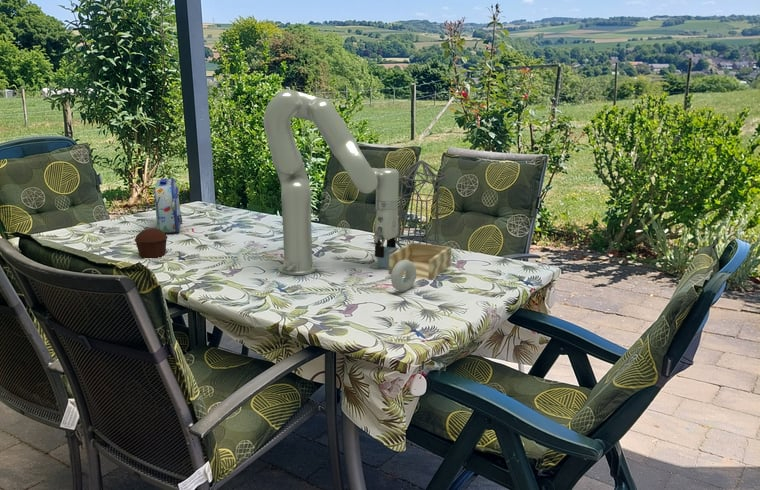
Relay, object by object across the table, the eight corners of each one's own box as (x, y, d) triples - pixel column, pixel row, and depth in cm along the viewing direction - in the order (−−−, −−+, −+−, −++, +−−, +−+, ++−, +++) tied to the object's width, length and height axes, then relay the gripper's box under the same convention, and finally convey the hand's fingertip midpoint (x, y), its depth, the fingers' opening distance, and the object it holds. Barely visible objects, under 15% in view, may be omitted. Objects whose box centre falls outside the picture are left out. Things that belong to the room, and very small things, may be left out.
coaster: (393, 272, 226) (393, 270, 226) (369, 269, 229) (369, 267, 229) (404, 265, 234) (404, 263, 233) (380, 262, 237) (380, 260, 237)
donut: (410, 286, 212) (410, 255, 209) (418, 288, 209) (419, 257, 207) (388, 293, 205) (388, 262, 202) (396, 296, 202) (396, 264, 200)
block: (390, 268, 228) (390, 251, 227) (377, 266, 230) (377, 249, 229) (396, 264, 232) (396, 248, 231) (383, 262, 235) (383, 246, 233)
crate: (431, 281, 216) (432, 260, 214) (389, 275, 222) (389, 255, 221) (450, 266, 233) (451, 247, 231) (410, 261, 239) (410, 242, 237)
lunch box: (183, 235, 274) (179, 182, 268) (156, 237, 271) (152, 184, 265) (181, 221, 299) (178, 172, 294) (157, 223, 296) (153, 173, 291)
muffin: (155, 261, 238) (152, 234, 235) (129, 258, 241) (126, 231, 239) (175, 252, 249) (173, 226, 246) (150, 250, 252) (148, 224, 250)
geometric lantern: (408, 247, 258) (412, 156, 249) (445, 253, 250) (450, 160, 241) (387, 256, 245) (391, 160, 236) (425, 263, 237) (430, 165, 228)
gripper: (386, 210, 217) (384, 261, 221) (406, 202, 232) (404, 249, 236) (365, 208, 220) (364, 258, 224) (387, 199, 235) (385, 246, 239)
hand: (385, 253), depth 230 cm, fingers open, 9 cm apart
